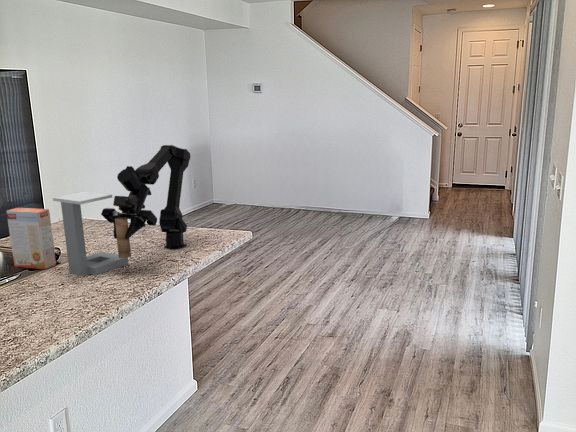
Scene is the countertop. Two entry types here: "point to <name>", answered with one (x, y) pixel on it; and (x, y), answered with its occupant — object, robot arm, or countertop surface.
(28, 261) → the cracker box
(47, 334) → the countertop surface
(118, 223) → the walnut peg
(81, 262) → the socket stand
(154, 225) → the robot arm
